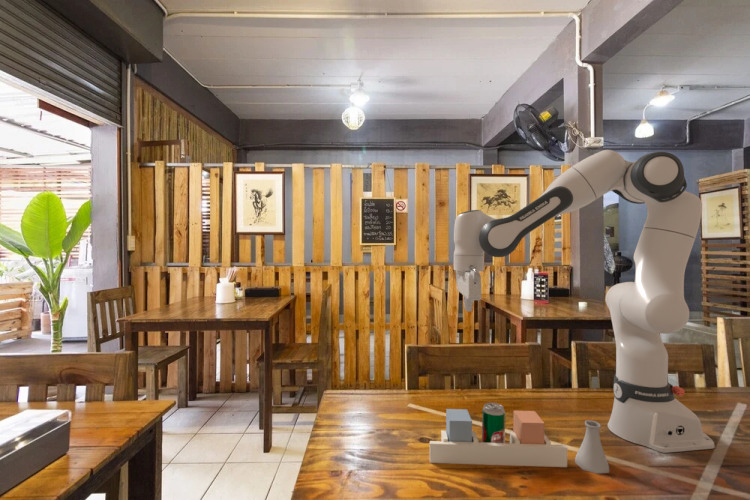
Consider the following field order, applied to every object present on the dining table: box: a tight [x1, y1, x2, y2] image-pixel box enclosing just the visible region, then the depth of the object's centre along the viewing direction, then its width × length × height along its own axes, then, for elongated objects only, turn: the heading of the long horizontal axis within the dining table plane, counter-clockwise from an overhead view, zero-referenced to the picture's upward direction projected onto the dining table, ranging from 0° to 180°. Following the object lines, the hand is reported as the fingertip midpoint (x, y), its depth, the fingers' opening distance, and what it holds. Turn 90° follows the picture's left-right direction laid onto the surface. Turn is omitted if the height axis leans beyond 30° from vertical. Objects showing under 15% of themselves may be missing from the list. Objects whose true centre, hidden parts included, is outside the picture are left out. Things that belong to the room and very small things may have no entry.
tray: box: [429, 429, 568, 468], centre depth 94 cm, size 30×17×6 cm, turn 87°
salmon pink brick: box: [512, 410, 545, 444], centre depth 90 cm, size 5×7×9 cm
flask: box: [574, 419, 610, 475], centre depth 86 cm, size 7×7×10 cm
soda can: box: [481, 402, 506, 443], centre depth 90 cm, size 5×5×12 cm
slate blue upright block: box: [445, 408, 473, 442], centre depth 91 cm, size 5×7×9 cm
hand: (468, 310), depth 116 cm, fingers closed
